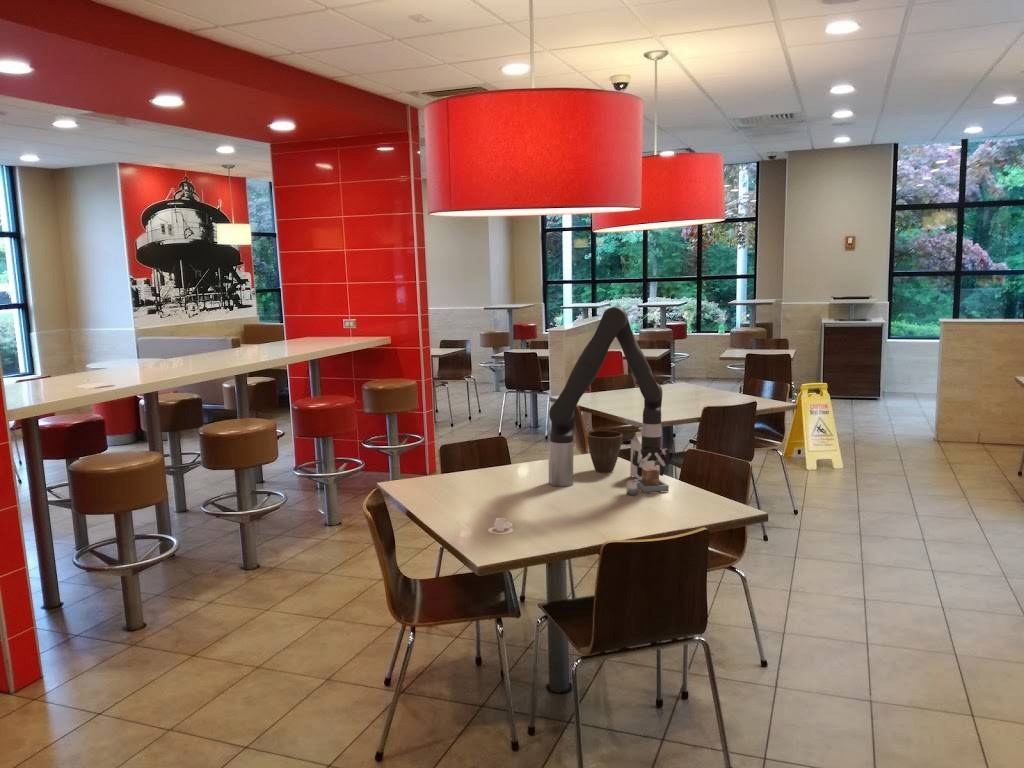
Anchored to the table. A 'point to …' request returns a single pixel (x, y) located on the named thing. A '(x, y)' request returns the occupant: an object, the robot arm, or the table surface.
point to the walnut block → (650, 476)
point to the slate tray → (651, 487)
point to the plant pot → (604, 449)
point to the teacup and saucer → (501, 526)
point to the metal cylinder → (631, 488)
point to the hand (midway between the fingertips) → (650, 475)
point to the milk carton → (637, 445)
